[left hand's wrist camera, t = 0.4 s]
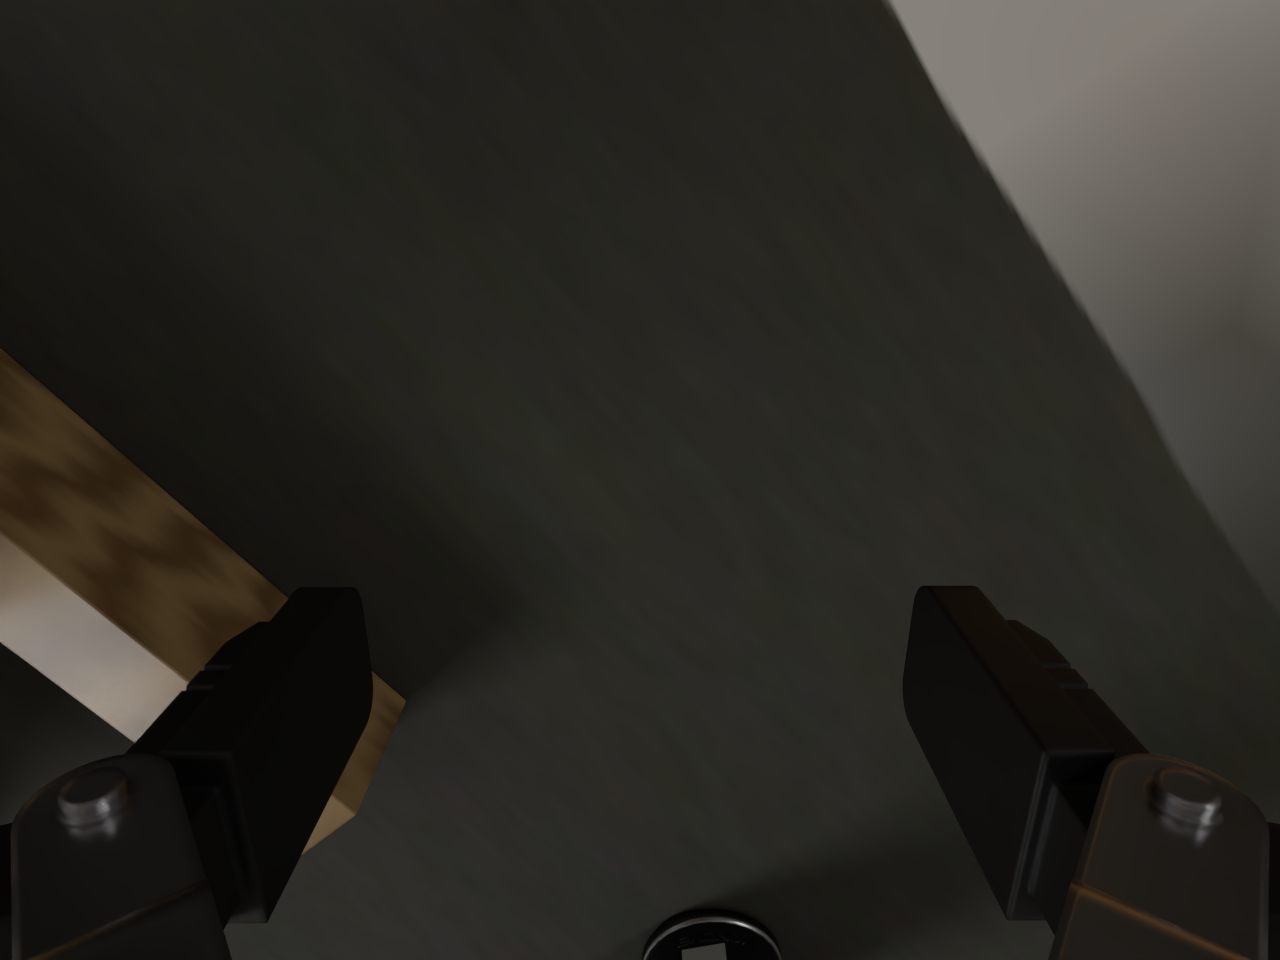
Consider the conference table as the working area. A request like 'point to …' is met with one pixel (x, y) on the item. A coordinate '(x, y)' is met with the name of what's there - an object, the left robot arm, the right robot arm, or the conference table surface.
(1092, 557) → the conference table surface
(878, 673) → the conference table surface
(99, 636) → the post
